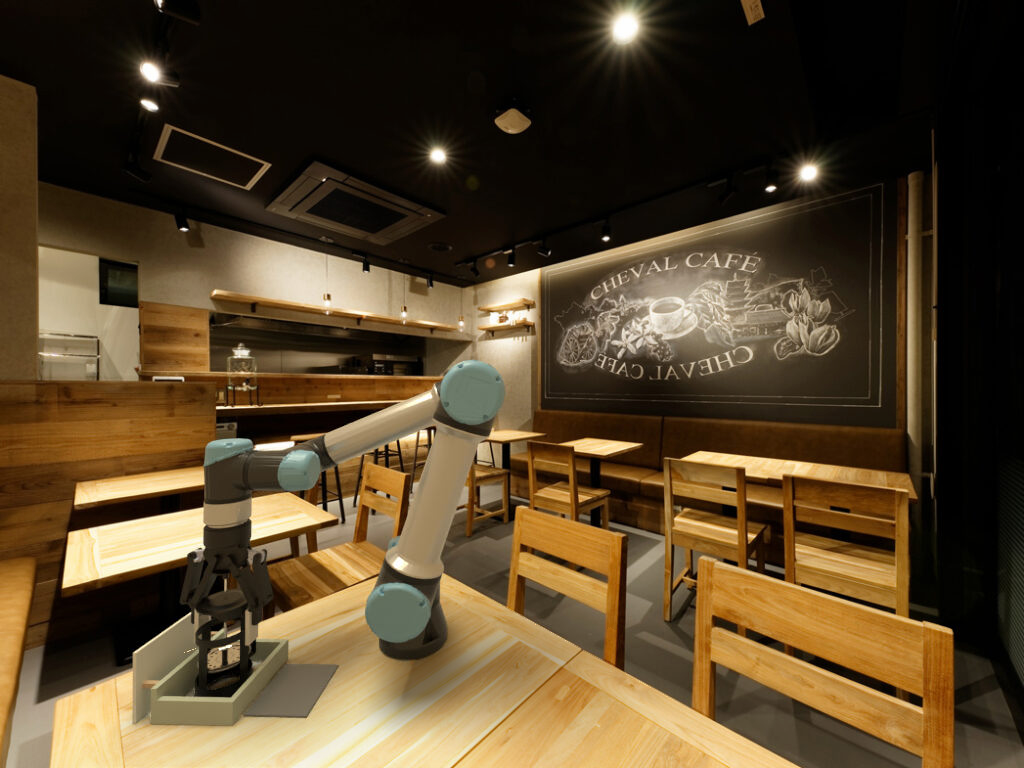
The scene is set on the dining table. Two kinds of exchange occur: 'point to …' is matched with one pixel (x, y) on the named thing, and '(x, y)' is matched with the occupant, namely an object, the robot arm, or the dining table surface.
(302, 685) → the plate
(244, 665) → the french press
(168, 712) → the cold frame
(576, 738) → the dining table surface
